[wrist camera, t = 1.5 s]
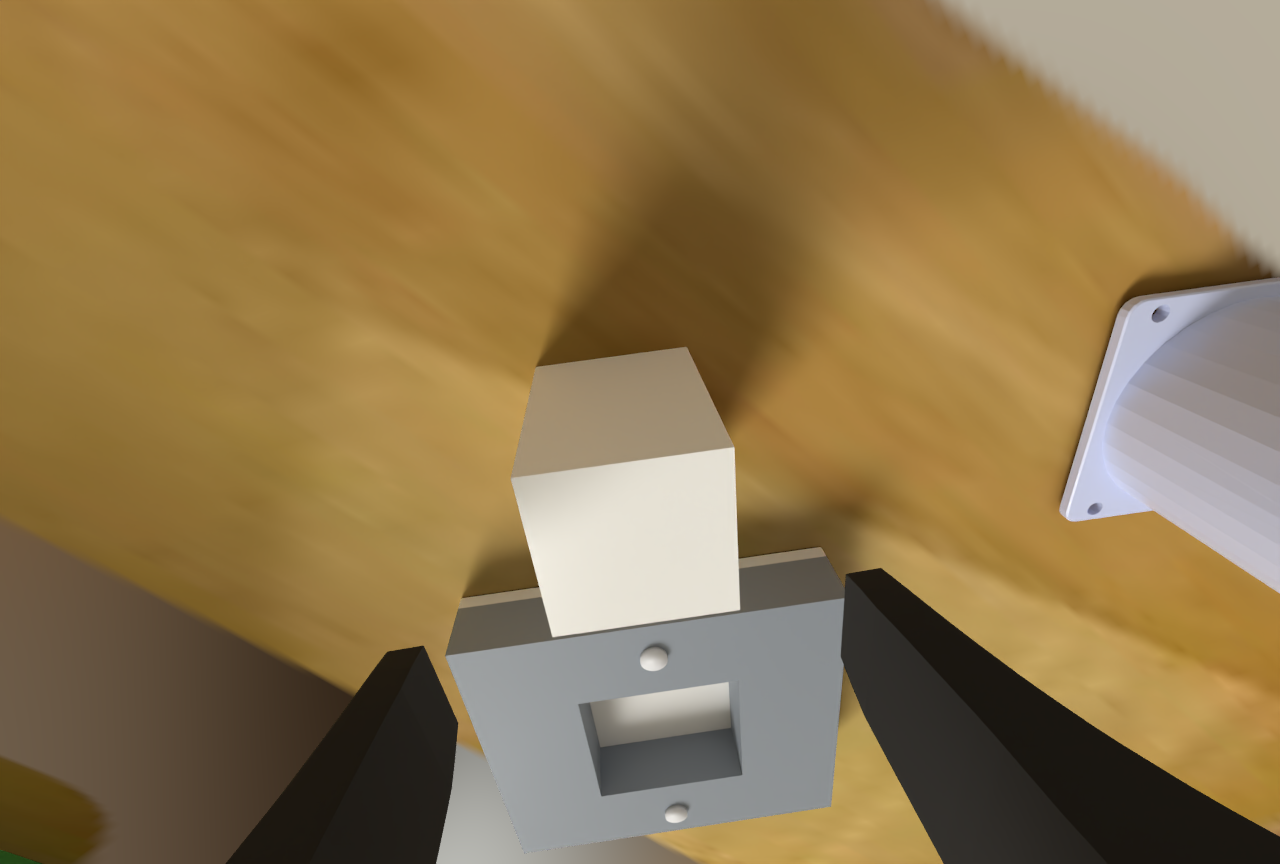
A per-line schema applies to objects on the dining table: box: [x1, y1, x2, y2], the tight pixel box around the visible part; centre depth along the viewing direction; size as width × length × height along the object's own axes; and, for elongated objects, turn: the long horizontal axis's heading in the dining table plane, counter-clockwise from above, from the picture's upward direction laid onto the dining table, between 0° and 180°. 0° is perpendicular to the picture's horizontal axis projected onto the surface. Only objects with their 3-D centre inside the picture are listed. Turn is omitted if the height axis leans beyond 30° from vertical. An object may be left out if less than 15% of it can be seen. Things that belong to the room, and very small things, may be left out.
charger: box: [511, 347, 740, 637], centre depth 15 cm, size 4×4×6 cm
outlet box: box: [445, 547, 845, 853], centre depth 22 cm, size 13×12×3 cm
